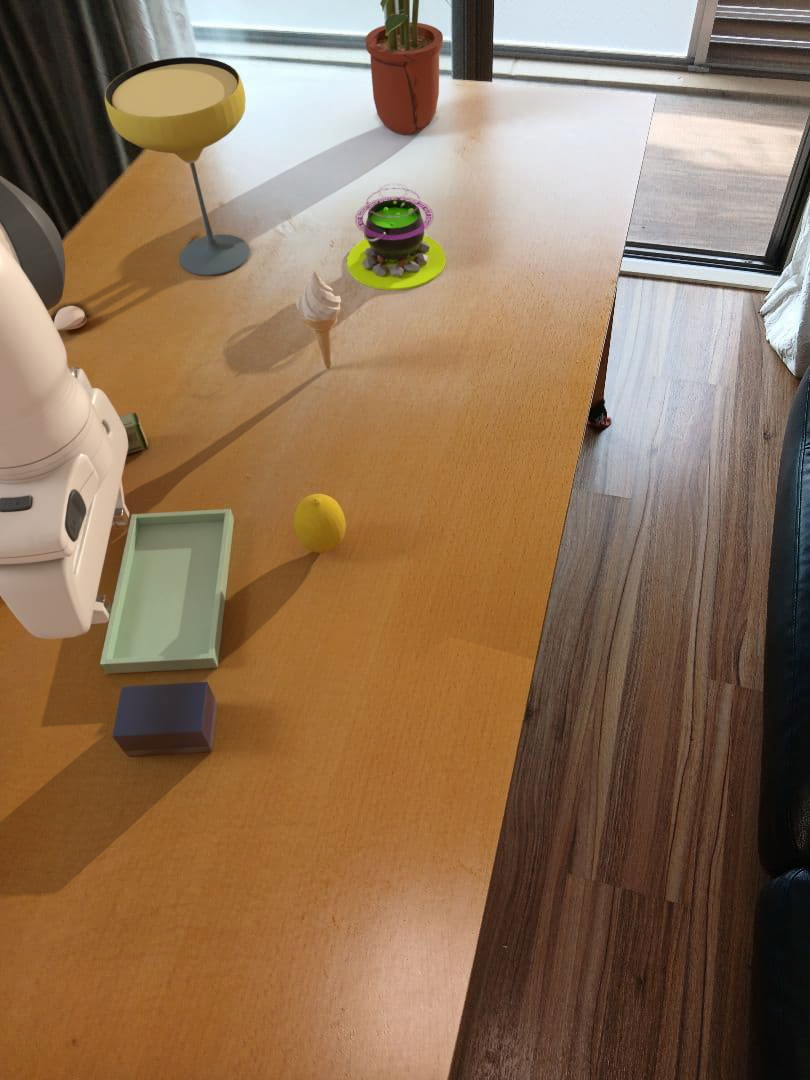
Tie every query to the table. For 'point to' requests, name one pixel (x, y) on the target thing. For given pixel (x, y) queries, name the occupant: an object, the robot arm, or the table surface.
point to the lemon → (319, 523)
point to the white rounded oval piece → (69, 318)
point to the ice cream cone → (319, 312)
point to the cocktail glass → (183, 132)
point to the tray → (170, 593)
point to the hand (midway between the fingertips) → (110, 567)
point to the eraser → (166, 719)
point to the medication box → (134, 433)
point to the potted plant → (404, 68)
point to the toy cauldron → (395, 246)
